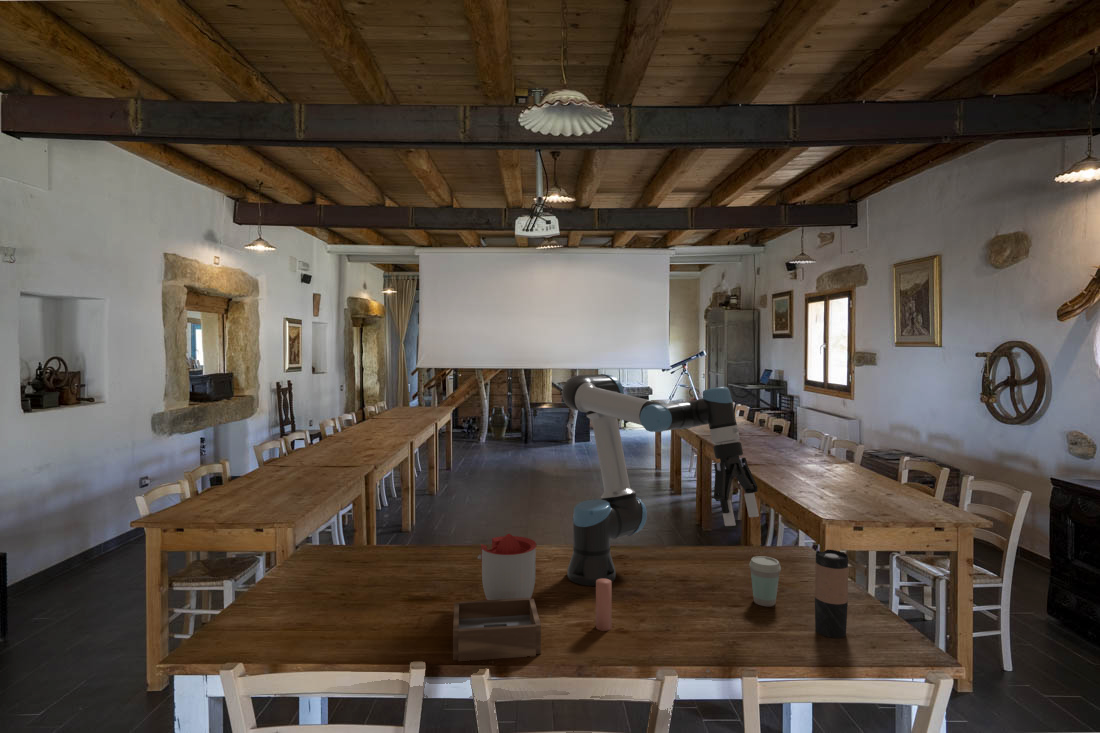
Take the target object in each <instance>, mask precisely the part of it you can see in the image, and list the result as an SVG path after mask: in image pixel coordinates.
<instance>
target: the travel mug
mask: <svg viewBox="0 0 1100 733" xmlns="http://www.w3.org/2000/svg"><path fill="white" fill-rule="evenodd" d="M814 578H815V579H814V622H815V624H814V625H815V626H814V628H815V631H816V632H817V633H818V634H820V635H821V634H822V636H824V637H828V638H831V637H832V639H841V638H844V637H846V635H847V625H848V624H847V623H848V622H847V621H848V608H849V607H848V605H849V604H848V602H849V601H848V600H849V599H848V598H849V595H848V594H849V555H848V554H846V553H844V552H843V551H840V550H834V549H826V550H824V551H819V550H816V551H815V574H814Z"/></svg>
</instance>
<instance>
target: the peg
mask: <svg viewBox="0 0 1100 733" xmlns="http://www.w3.org/2000/svg"><path fill="white" fill-rule="evenodd" d="M612 583H613V582H611V580H609V579H604V578H602V579H597V580H596V586H595V629H597V630H599V631H602V632H606V631H607V632H608V631H610V630H611V629H612V587H613V586H612Z"/></svg>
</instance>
